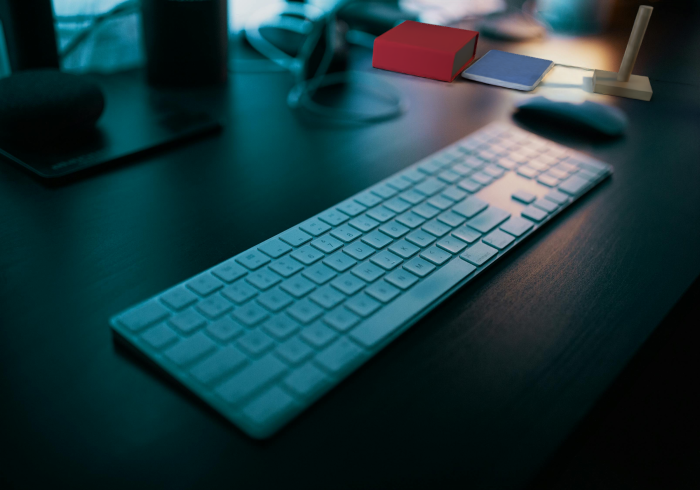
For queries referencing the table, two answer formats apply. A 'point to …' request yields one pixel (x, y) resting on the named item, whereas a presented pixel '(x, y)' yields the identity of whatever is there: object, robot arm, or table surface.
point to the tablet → (509, 70)
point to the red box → (425, 50)
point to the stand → (627, 66)
